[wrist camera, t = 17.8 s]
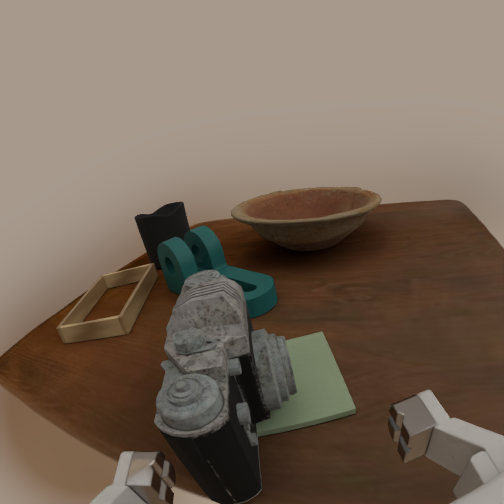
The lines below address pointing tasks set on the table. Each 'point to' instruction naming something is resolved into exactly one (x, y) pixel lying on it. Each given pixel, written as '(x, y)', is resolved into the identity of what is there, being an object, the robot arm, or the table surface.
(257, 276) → the bracket
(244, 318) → the camera
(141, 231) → the pen holder
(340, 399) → the mat
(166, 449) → the table surface
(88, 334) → the rectangular wooden frame
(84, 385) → the table surface
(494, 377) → the table surface
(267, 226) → the bowl
